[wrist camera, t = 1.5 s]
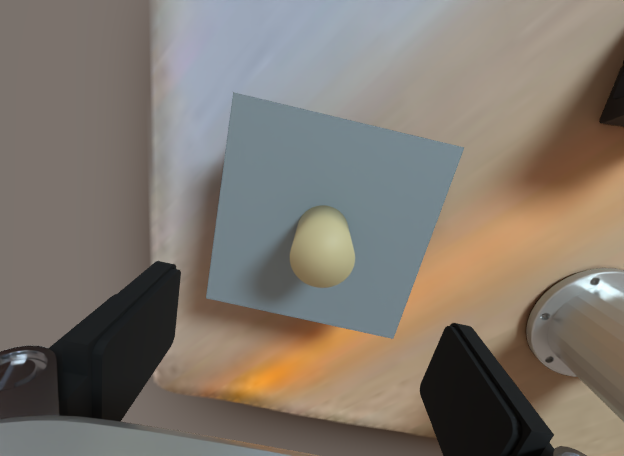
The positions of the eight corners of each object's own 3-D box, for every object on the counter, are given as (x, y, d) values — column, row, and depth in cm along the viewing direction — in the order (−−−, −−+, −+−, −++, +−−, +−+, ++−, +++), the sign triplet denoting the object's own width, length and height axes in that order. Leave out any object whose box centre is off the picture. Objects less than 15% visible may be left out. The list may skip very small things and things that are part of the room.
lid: (456, 146, 21) (509, 153, 15) (390, 329, 25) (410, 390, 19) (238, 94, 20) (202, 80, 14) (211, 290, 25) (176, 340, 19)
